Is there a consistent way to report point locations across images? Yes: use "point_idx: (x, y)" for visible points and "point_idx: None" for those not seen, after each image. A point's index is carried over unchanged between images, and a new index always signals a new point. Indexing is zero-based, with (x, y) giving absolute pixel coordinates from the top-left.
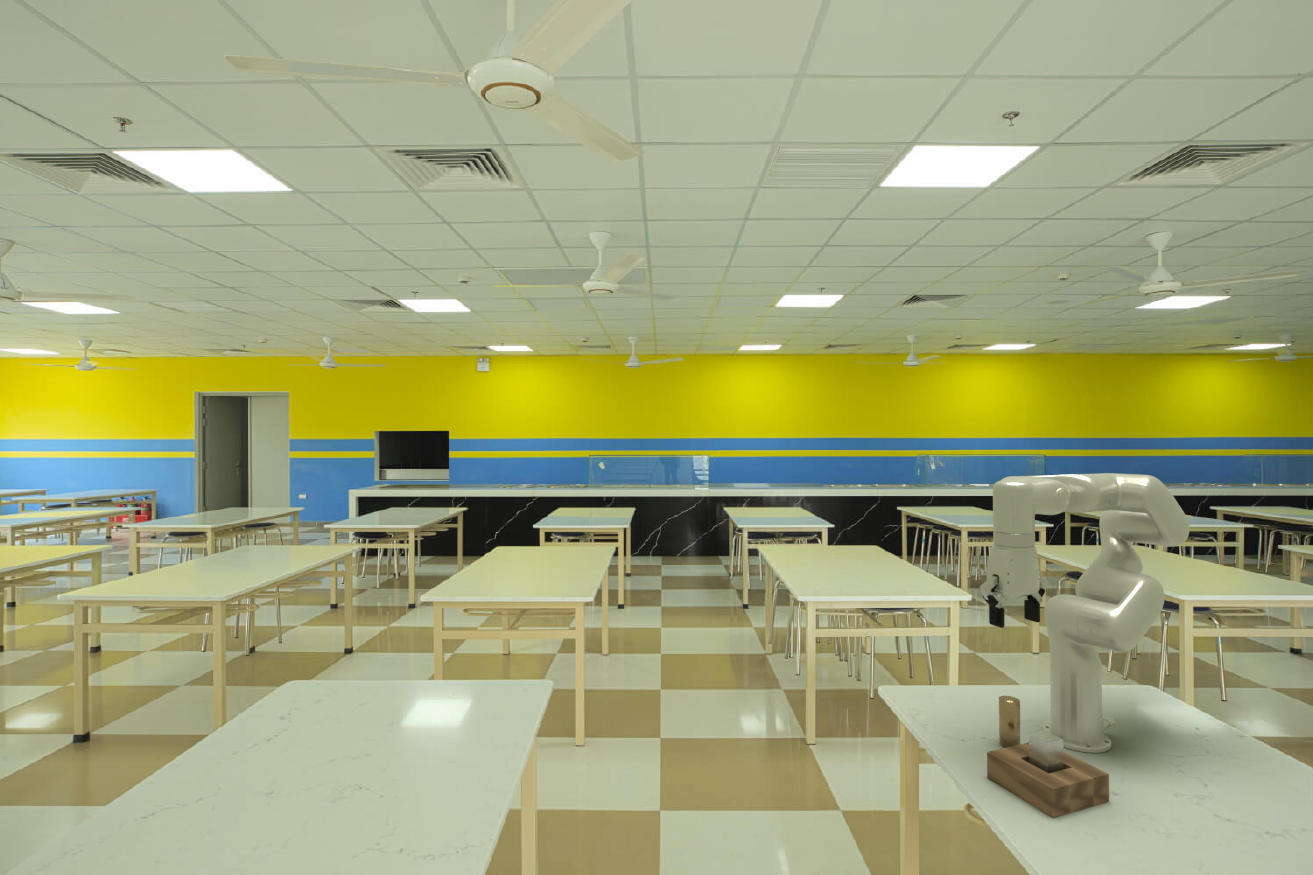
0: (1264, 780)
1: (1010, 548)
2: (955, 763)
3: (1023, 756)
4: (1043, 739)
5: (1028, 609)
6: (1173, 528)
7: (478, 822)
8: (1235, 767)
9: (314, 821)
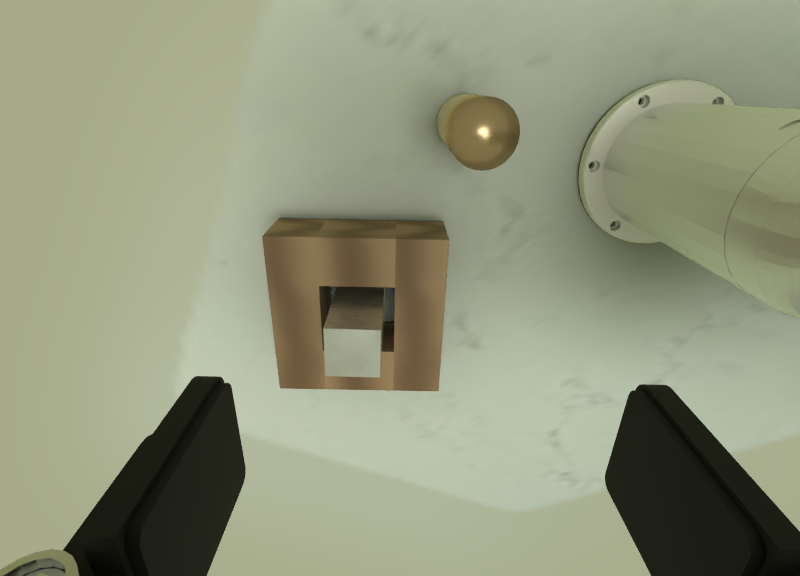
0: (764, 408)
1: None
2: (255, 135)
3: (333, 283)
4: (332, 361)
5: (672, 499)
6: None
7: None
8: (787, 369)
9: None
